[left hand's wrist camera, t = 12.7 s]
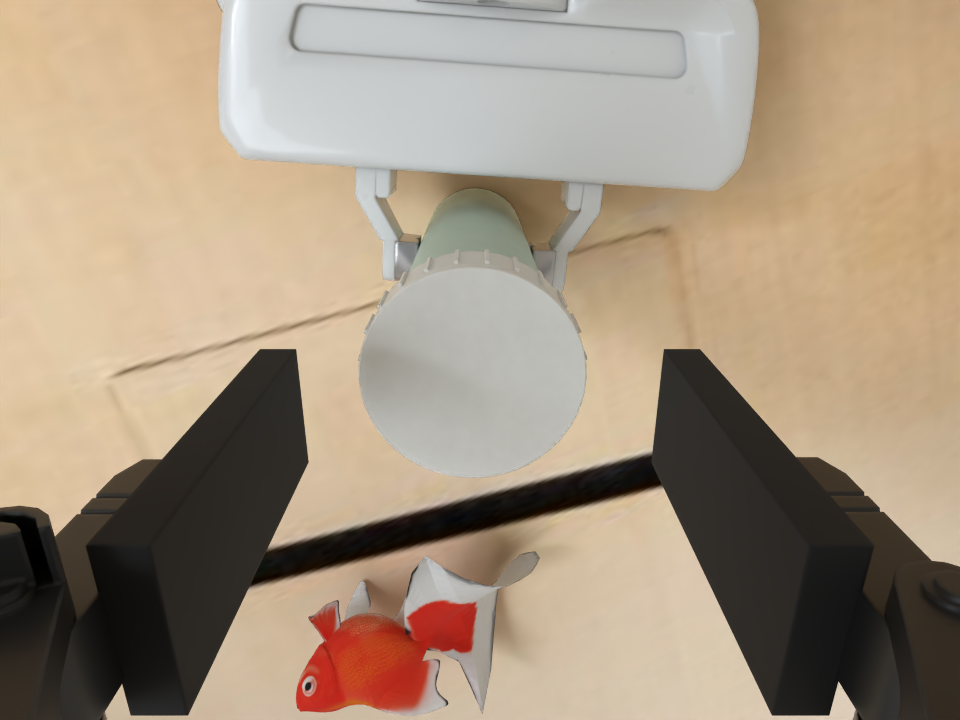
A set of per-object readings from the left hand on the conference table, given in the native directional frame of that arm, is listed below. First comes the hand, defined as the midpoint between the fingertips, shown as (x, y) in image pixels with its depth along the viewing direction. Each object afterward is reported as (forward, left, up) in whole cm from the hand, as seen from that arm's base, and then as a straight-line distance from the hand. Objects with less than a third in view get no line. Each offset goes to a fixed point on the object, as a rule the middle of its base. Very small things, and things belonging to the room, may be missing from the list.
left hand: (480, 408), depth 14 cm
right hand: (-1, 0, -15) cm, 15 cm away
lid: (0, 0, -2) cm, 2 cm away
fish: (-22, -5, -21) cm, 31 cm away
